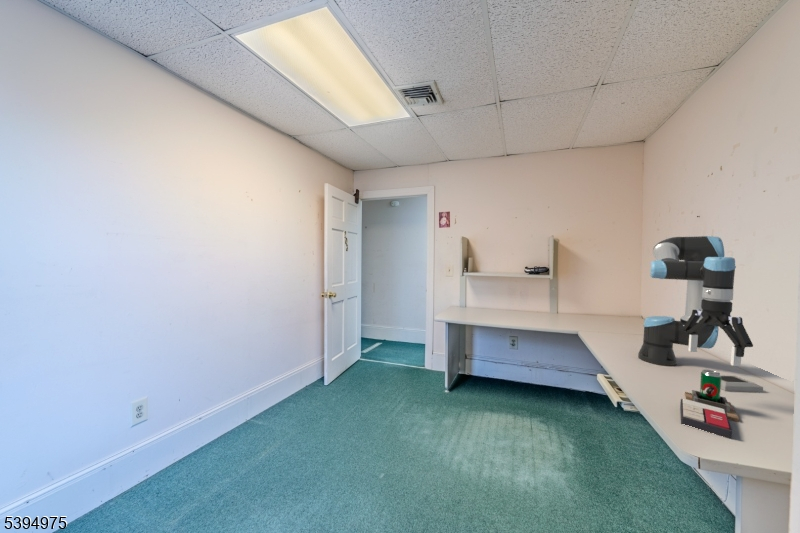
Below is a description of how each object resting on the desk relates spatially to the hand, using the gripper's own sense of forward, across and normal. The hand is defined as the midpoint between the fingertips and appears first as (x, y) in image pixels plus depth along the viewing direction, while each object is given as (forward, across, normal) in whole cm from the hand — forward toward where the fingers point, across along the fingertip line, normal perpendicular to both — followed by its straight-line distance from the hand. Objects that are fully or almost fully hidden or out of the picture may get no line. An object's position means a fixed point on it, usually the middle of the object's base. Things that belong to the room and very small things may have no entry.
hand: (712, 358), depth 106 cm
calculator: (+18, +9, -13) cm, 25 cm away
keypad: (+19, -15, +29) cm, 38 cm away
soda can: (+17, 0, 0) cm, 17 cm away
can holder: (+18, 0, 0) cm, 18 cm away
